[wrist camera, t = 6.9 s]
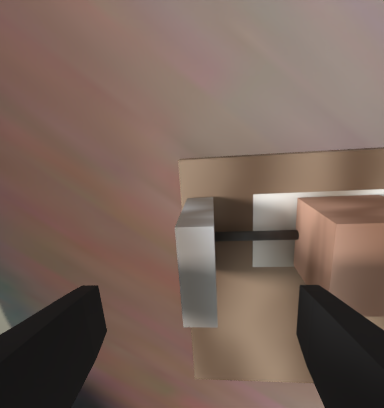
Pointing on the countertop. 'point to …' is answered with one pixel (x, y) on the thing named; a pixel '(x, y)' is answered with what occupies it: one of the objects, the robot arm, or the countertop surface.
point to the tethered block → (303, 252)
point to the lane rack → (265, 253)
